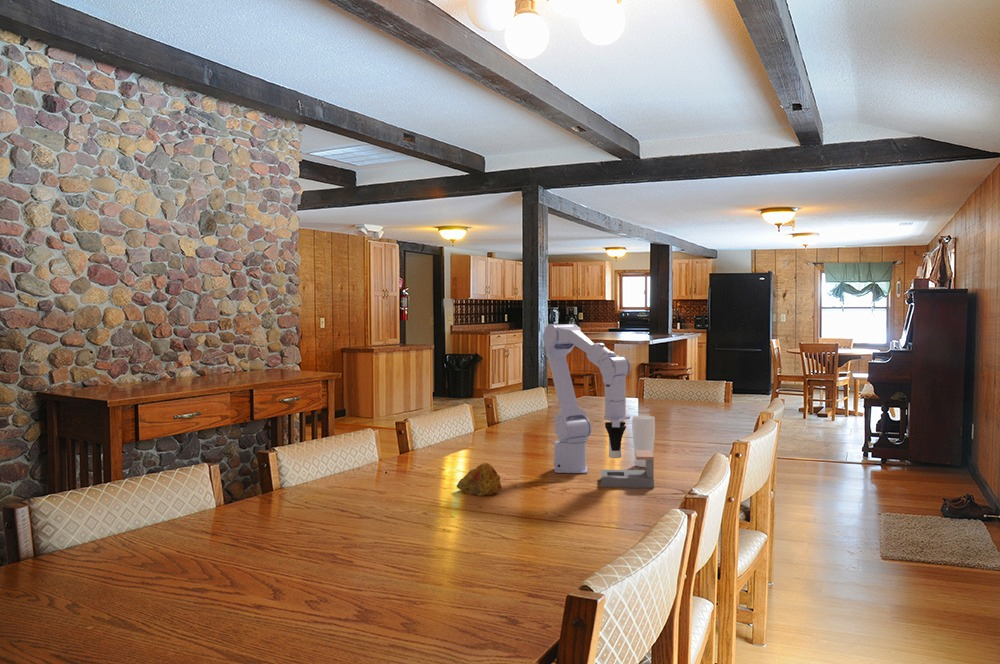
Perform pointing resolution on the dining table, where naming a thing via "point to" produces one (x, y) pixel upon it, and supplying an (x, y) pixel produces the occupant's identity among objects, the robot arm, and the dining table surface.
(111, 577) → the dining table surface
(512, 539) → the dining table surface
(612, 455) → the peg
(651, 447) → the cream rounded cylinder
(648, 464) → the socket station
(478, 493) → the rock
